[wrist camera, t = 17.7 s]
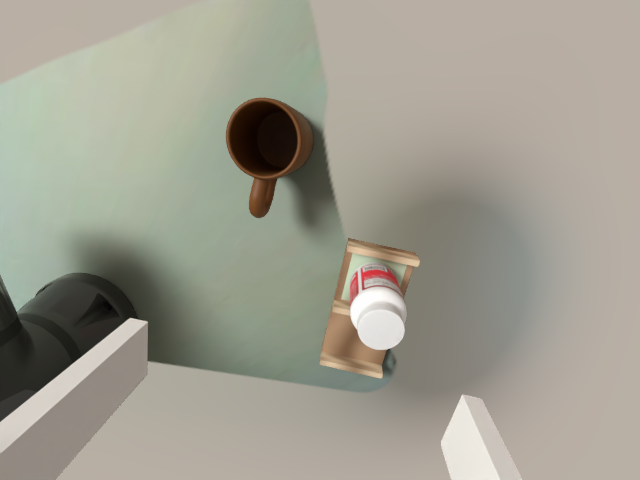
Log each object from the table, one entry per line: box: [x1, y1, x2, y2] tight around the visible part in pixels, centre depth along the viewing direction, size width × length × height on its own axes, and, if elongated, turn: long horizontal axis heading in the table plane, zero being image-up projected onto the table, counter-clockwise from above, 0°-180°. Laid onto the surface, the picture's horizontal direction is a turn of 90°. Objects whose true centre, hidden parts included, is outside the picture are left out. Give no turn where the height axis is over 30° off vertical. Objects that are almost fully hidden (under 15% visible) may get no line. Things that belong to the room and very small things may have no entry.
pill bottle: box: [350, 262, 407, 350], centre depth 35 cm, size 6×6×11 cm
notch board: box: [320, 238, 420, 378], centre depth 42 cm, size 9×18×3 cm, turn 169°
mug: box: [226, 98, 313, 218], centre depth 34 cm, size 12×8×9 cm, turn 168°
